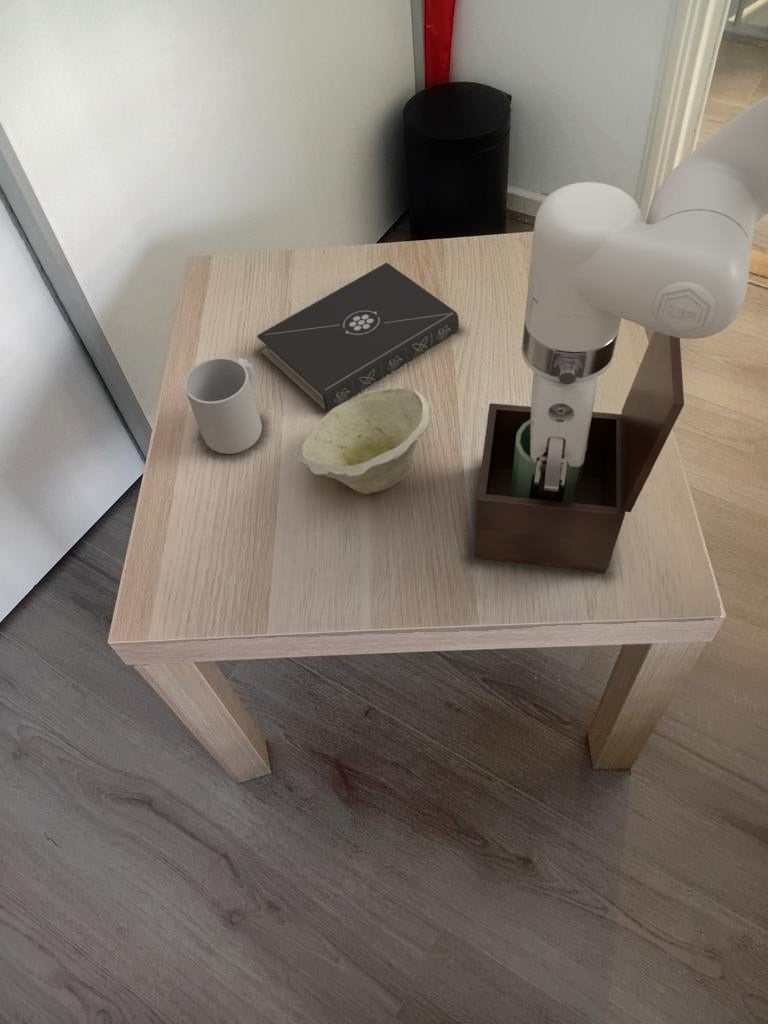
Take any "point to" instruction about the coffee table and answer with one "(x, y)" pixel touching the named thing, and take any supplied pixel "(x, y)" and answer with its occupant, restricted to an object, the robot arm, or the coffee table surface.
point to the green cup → (527, 467)
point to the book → (357, 335)
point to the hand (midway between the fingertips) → (547, 472)
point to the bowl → (368, 439)
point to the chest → (550, 524)
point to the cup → (225, 403)
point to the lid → (650, 413)
